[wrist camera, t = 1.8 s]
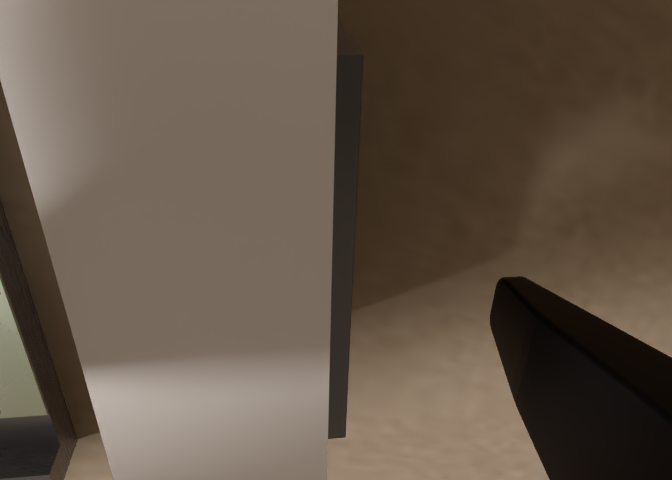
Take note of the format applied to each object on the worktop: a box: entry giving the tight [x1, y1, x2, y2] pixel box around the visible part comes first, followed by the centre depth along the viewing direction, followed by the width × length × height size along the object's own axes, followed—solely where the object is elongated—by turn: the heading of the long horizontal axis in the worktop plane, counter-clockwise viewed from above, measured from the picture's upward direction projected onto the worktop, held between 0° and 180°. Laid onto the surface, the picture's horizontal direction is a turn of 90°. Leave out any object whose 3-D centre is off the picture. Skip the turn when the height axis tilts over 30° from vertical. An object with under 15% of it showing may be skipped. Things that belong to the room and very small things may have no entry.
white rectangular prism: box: [0, 0, 363, 480], centre depth 11 cm, size 4×10×6 cm, turn 179°
